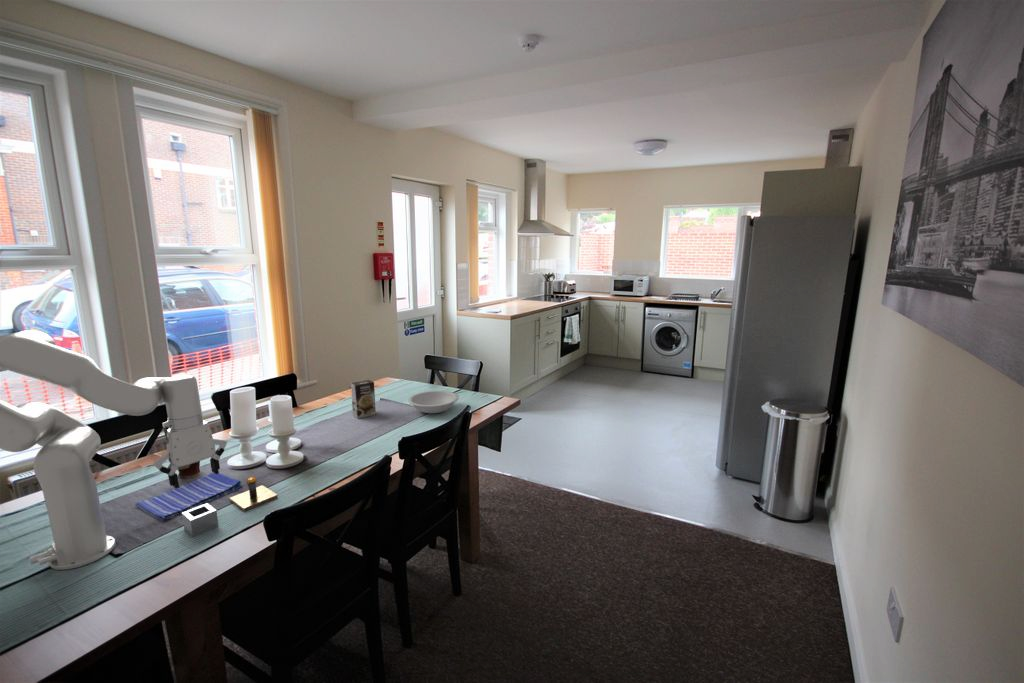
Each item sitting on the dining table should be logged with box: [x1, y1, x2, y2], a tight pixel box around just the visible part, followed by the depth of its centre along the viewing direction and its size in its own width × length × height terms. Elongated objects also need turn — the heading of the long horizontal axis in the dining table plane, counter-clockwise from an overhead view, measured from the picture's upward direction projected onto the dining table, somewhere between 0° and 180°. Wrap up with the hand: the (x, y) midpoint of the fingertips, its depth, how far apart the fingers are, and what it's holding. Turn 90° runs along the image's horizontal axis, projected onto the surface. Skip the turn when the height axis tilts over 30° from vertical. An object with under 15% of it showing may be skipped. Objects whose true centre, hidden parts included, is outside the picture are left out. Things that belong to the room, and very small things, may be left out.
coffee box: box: [350, 379, 377, 419], centre depth 219 cm, size 9×6×16 cm
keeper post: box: [229, 476, 278, 512], centre depth 145 cm, size 10×10×7 cm
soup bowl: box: [407, 390, 460, 414], centre depth 225 cm, size 24×24×7 cm
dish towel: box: [135, 472, 242, 522], centre depth 148 cm, size 17×24×3 cm
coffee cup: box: [176, 461, 201, 479], centre depth 161 cm, size 9×8×13 cm
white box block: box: [181, 502, 219, 538], centre depth 131 cm, size 6×6×5 cm
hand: (196, 479), depth 129 cm, fingers open, 9 cm apart
